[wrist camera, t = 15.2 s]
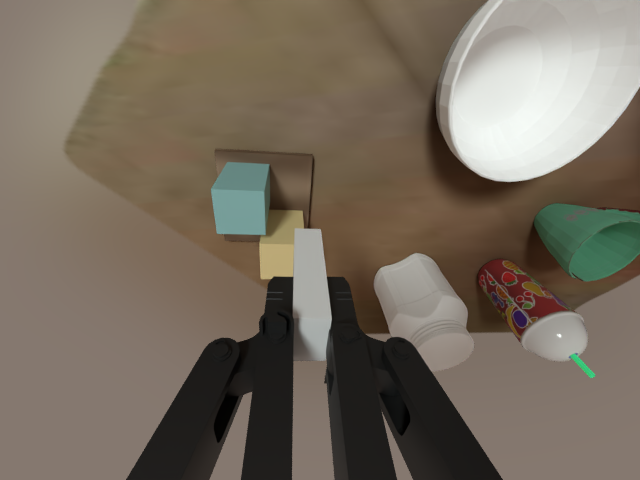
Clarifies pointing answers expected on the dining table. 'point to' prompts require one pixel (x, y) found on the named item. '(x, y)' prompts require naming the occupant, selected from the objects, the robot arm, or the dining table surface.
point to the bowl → (537, 83)
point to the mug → (589, 238)
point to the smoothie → (534, 313)
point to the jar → (424, 311)
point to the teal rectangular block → (242, 198)
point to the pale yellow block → (279, 243)
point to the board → (275, 180)
